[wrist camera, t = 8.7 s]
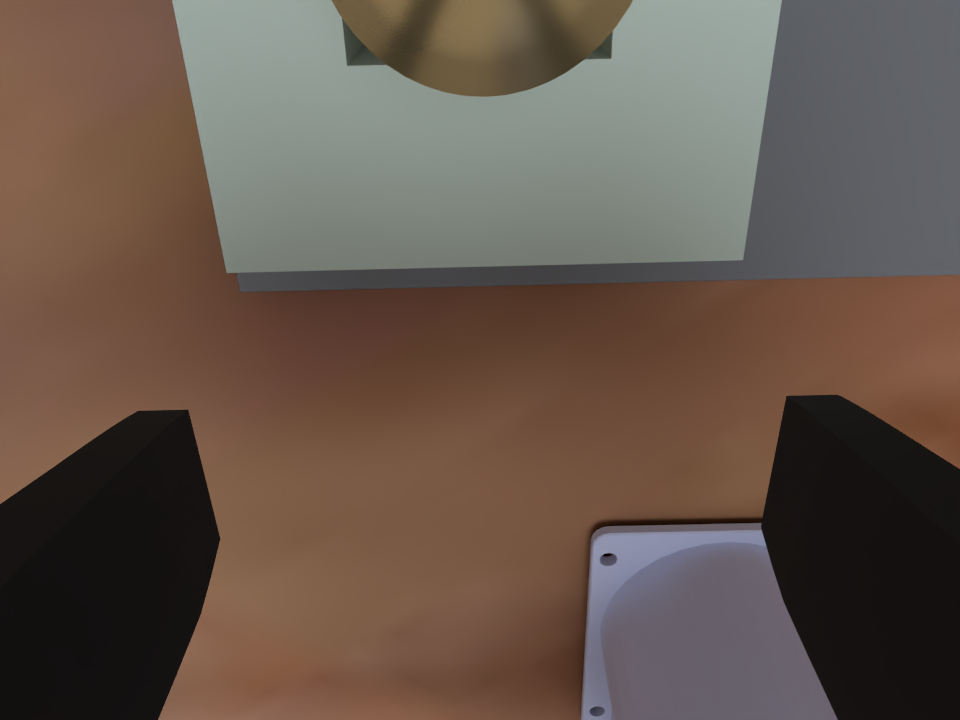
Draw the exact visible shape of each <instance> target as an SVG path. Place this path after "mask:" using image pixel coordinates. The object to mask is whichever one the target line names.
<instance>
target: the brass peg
mask: <svg viewBox="0 0 960 720" xmlns="http://www.w3.org/2000/svg"><path fill="white" fill-rule="evenodd" d="M632 1H633V0H332V2H333V4H334V5H335V7H336V9H337V11H338V12H339V14H340V16H341V17H342V18H343V20H344V21H345V23H346V24H347V25H348V27H349V28H350V29H351V31H352V32H353V33H354V35H355V36H356V37H357V38H358V39H359V40H360V41H361V42H362V43H363V44H364V45H365V46H366V47H367V48H368V49H369V51H371V52H372V53H373V54H374V55H375V56H377V57H378V58H379V59H380V60H381V61H383V62H384V63H385V64H386V65H388V66H389V67H391V68H392V69H394V70H395V71H397V72H399V73H400V74H402V75H403V76H405V77H407V78H409V79H411V80H413V81H415V82H417V83H420V84H422V85H424V86H426V87H429V88H433V89H436V90H439V91H442V92H445V93H451V94H457V95H463V96H477V97H490V96H501V95H509V94H513V93H517V92H522V91H526V90H529V89H532V88H534V87H537V86H540V85H542V84H545V83H548V82H550V81H551V80H553V79H555V78H557V77H559V76H561V75H562V74H564V73H566V72H568V71H569V70H571V69H572V68H573V67H575V66H576V65H578V64H579V63H580V62H582V61H583V60H585V59H586V58H587V57H588V56H589V55H590V54H591V53H592V52H593V51H594V50H595V49H597V48H598V47H599V46H600V45H601V44H602V43H603V42H604V40H605V39H606V38H607V37H608V36H609V35H610V33H611V32H612V31H613V30H614V29H615V27H616V26H617V25H618V23H619V22H620V20H621V19H622V17H623V16H624V14H625V13H626V11H627V10H628V8H629V7H630V5H631V3H632Z"/></svg>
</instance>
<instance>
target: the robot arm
mask: <svg viewBox="0 0 960 720" xmlns="http://www.w3.org/2000/svg"><path fill="white" fill-rule="evenodd" d="M219 541H220V536H219V532H218V528H217V524H216V520H215V516H214V512H213V508H212V504H211V500H210V496H209V492H208V488H207V484H206V480H205V476H204V472H203V468H202V464H201V459H200V455H199V451H198V447H197V443H196V439H195V435H194V431H193V427H192V423H191V419H190V415H189V411H188V410H158V411H137V412H136V413H134V414H132V415H130V416H129V417H127V418H125V419H124V420H122V421H120V422H119V423H117V424H116V425H114V426H113V427H111V428H110V429H108V430H107V431H105V432H104V433H102V434H101V435H99V436H98V437H96V438H95V439H93V440H92V441H90V442H89V443H88V444H86V445H85V446H83V447H82V448H80V449H79V450H77V451H76V452H75V453H73V454H72V455H70V456H69V457H67V458H66V459H65V460H63V461H62V462H60V463H59V464H58V465H56V466H55V467H53V468H52V469H50V470H49V471H47V472H46V473H45V474H43V475H42V476H40V477H39V478H37V479H36V480H35V481H33V482H32V483H30V484H29V485H27V486H26V487H24V488H23V489H22V490H20V491H19V492H17V493H16V494H14V495H13V496H11V497H10V498H9V499H7V500H6V501H4V502H3V503H1V504H0V720H158V718H159V716H160V713H161V711H162V708H163V706H164V704H165V701H166V699H167V696H168V694H169V692H170V689H171V687H172V684H173V682H174V679H175V677H176V675H177V672H178V670H179V667H180V665H181V662H182V660H183V657H184V655H185V652H186V650H187V647H188V645H189V642H190V640H191V637H192V635H193V632H194V630H195V627H196V625H197V622H198V620H199V617H200V614H201V611H202V608H203V604H204V600H205V597H206V593H207V590H208V586H209V582H210V579H211V574H212V570H213V566H214V562H215V558H216V554H217V550H218V546H219ZM607 553H612V554H613V555H611V556H608V557H604V556H602V555H604V554H607ZM580 720H960V469H959V468H957V467H955V466H954V465H952V464H951V463H949V462H947V461H946V460H944V459H943V458H941V457H940V456H938V455H936V454H935V453H933V452H932V451H930V450H928V449H927V448H925V447H924V446H922V445H921V444H919V443H917V442H916V441H914V440H913V439H911V438H910V437H908V436H906V435H905V434H903V433H902V432H900V431H899V430H897V429H895V428H894V427H892V426H891V425H889V424H887V423H886V422H884V421H883V420H881V419H879V418H878V417H876V416H875V415H873V414H871V413H870V412H868V411H866V410H865V409H863V408H861V407H859V406H858V405H856V404H854V403H852V402H851V401H849V400H847V399H845V398H843V397H841V396H839V395H811V396H786V402H785V407H784V412H783V417H782V422H781V427H780V432H779V437H778V442H777V447H776V452H775V457H774V463H773V468H772V473H771V478H770V483H769V488H768V493H767V498H766V503H765V508H764V513H763V518H762V523H737V524H690V525H643V526H607V527H602V528H600V529H598V530H596V531H595V532H594V533H593V535H592V538H591V548H590V565H589V582H588V599H587V617H586V634H585V651H584V668H583V685H582V702H581V719H580Z"/></svg>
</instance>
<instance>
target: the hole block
mask: <svg viewBox="0 0 960 720" xmlns="http://www.w3.org/2000/svg"><path fill="white" fill-rule="evenodd" d="M172 1H173V6H174V11H175V16H176V21H177V26H178V32H179V37H180V42H181V47H182V52H183V57H184V62H185V67H186V72H187V77H188V82H189V87H190V92H191V97H192V102H193V107H194V112H195V117H196V122H197V127H198V132H199V137H200V142H201V147H202V152H203V157H204V162H205V167H206V172H207V177H208V182H209V187H210V192H211V197H212V202H213V207H214V212H215V217H216V222H217V227H218V232H219V237H220V242H221V247H222V252H223V257H224V262H225V267H226V273H246V272H286V271H327V270H367V269H408V268H448V267H489V266H529V265H570V264H610V263H651V262H692V261H732V260H743V257H744V250H745V244H746V237H747V230H748V223H749V217H750V210H751V203H752V197H753V190H754V183H755V177H756V170H757V163H758V157H759V150H760V143H761V137H762V130H763V123H764V116H765V110H766V103H767V96H768V90H769V83H770V76H771V70H772V63H773V56H774V50H775V43H776V36H777V30H778V23H779V16H780V9H781V3H782V0H633V1H632V3H631V5H630V7H629V8H628V10H627V11H626V13H625V14H624V16H623V17H622V19H621V20H620V22H619V23H618V25H617V26H616V27H615V29H614V30H613V31H612V32H611V33H610V35H609V36H608V37H607V38H606V39H605V40H604V42H603V43H602V44H601V45H600V46H599V47H598V48H597V49H595V50H594V51H593V52H592V53H591V54H590V55H589V56H588V57H587V58H586V59H585V60H583V61H582V62H580V63H579V64H578V65H576V66H575V67H573V68H572V69H571V70H569V71H568V72H566V73H564V74H562V75H561V76H559V77H557V78H555V79H553V80H551V81H550V82H548V83H545V84H542V85H540V86H537V87H534V88H532V89H529V90H526V91H522V92H517V93H513V94H509V95H501V96H490V97H477V96H463V95H457V94H451V93H445V92H442V91H439V90H436V89H433V88H429V87H426V86H424V85H422V84H420V83H417V82H415V81H413V80H411V79H409V78H407V77H405V76H403V75H402V74H400V73H399V72H397V71H395V70H394V69H392V68H391V67H389V66H388V65H386V64H385V63H384V62H383V61H381V60H380V59H379V58H378V57H377V56H375V55H374V54H373V53H372V52H371V51H369V49H368V48H367V47H366V46H365V45H364V44H363V43H362V42H361V41H360V40H359V39H358V38H357V37H356V36H355V35H354V33H353V32H352V31H351V29H350V28H349V27H348V25H347V24H346V23H345V21H344V20H343V18H342V17H341V16H340V14H339V12H338V11H337V9H336V7H335V5H334V4H333V2H332V0H172Z"/></svg>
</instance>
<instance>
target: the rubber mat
mask: <svg viewBox="0 0 960 720" xmlns="http://www.w3.org/2000/svg"><path fill="white" fill-rule="evenodd" d="M920 275H960V0H782V3H781V9H780V16H779V23H778V30H777V36H776V43H775V50H774V56H773V63H772V70H771V76H770V83H769V90H768V96H767V103H766V110H765V116H764V123H763V130H762V137H761V143H760V150H759V157H758V163H757V170H756V177H755V183H754V190H753V197H752V203H751V210H750V217H749V223H748V230H747V237H746V244H745V250H744V257H743V260H732V261H692V262H651V263H610V264H570V265H529V266H489V267H448V268H408V269H367V270H327V271H286V272H246V273H237V278H238V284H239V289H240V292H265V291H306V290H347V289H388V288H429V287H470V286H511V285H551V284H592V283H633V282H674V281H715V280H756V279H797V278H838V277H879V276H920Z"/></svg>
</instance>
